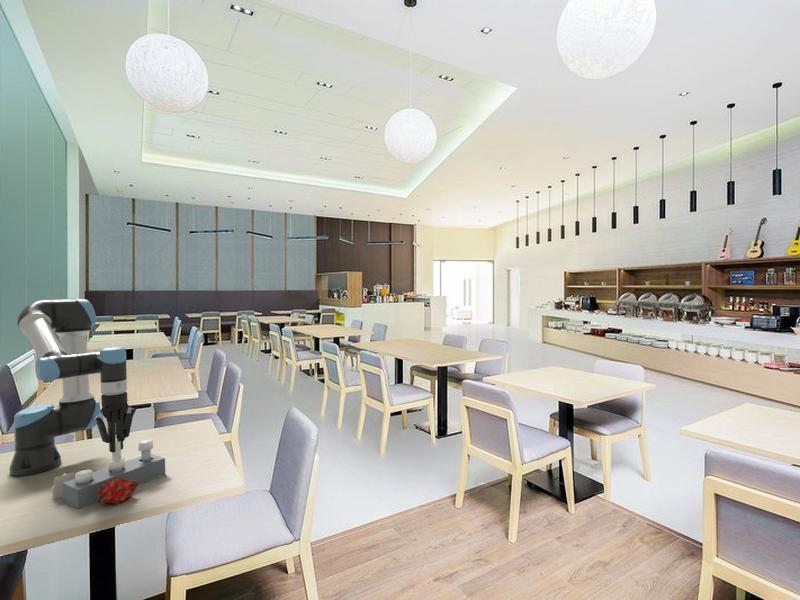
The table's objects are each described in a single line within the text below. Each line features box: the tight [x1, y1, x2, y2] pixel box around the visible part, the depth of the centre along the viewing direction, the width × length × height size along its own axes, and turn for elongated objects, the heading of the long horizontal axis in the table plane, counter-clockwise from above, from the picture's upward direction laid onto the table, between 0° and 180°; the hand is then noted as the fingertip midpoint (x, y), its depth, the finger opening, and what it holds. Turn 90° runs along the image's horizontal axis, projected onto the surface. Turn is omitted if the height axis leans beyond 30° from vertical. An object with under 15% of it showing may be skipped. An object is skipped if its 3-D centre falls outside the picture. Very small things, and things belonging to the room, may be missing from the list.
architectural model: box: [51, 471, 75, 500], centre depth 144 cm, size 3×7×7 cm, turn 142°
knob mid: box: [108, 457, 126, 473], centre depth 148 cm, size 5×5×8 cm
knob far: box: [137, 439, 154, 462], centre depth 157 cm, size 5×5×8 cm
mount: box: [62, 453, 166, 509], centre depth 148 cm, size 10×28×6 cm, turn 150°
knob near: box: [74, 469, 94, 485], centre depth 140 cm, size 5×5×8 cm
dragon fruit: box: [96, 477, 139, 505], centre depth 138 cm, size 8×8×12 cm
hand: (116, 460), depth 148 cm, fingers closed
